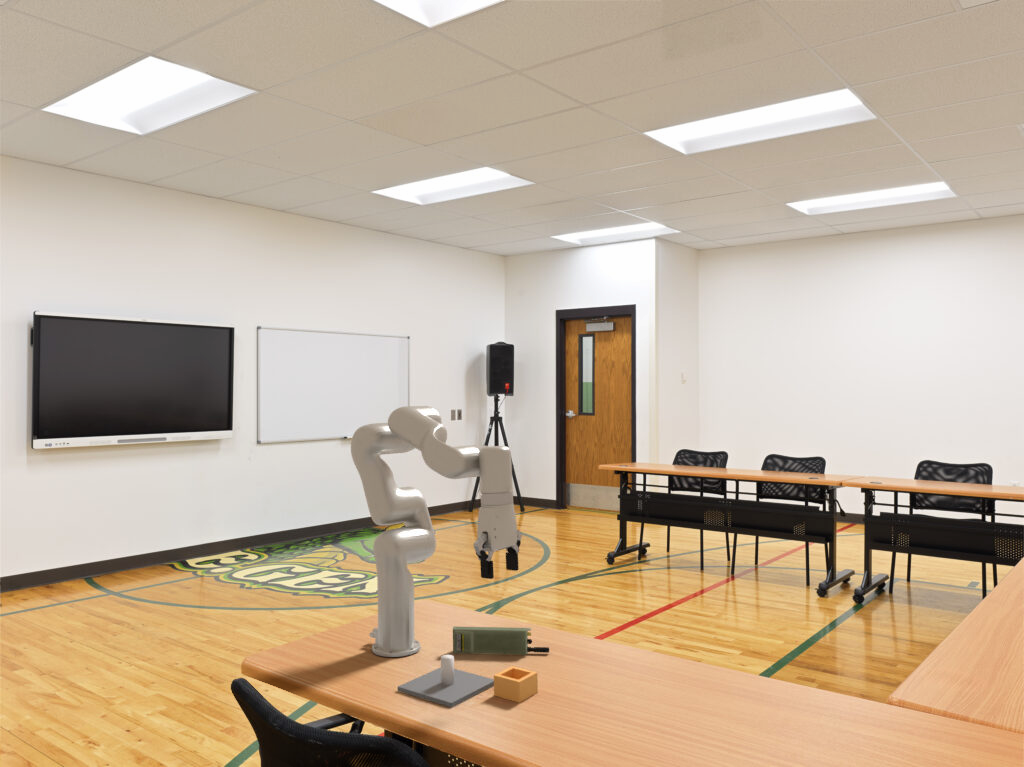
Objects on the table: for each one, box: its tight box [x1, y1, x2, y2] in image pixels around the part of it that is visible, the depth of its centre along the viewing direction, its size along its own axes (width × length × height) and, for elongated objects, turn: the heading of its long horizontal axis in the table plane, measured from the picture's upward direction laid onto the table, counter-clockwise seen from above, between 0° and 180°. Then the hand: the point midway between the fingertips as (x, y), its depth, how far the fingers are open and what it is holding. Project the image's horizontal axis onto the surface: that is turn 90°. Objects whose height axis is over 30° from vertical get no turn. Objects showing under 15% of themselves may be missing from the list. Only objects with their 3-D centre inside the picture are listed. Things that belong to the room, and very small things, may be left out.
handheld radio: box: [452, 625, 550, 656], centre depth 201 cm, size 7×3×25 cm
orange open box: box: [493, 665, 539, 703], centre depth 174 cm, size 7×7×4 cm
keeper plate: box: [397, 654, 494, 709], centre depth 178 cm, size 16×16×7 cm
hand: (500, 574), depth 179 cm, fingers open, 9 cm apart
